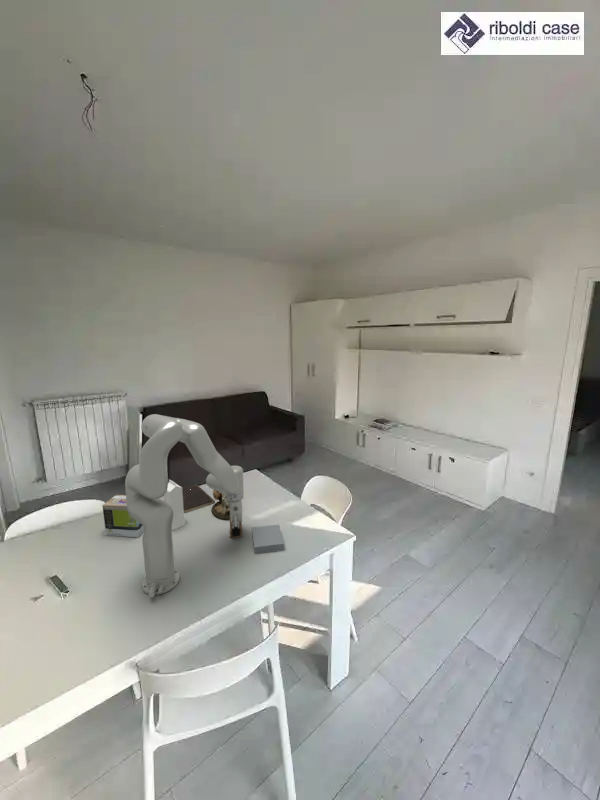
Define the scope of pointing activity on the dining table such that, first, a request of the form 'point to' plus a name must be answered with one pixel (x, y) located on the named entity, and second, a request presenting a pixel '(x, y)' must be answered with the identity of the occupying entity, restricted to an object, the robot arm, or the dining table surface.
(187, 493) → the hardcover book
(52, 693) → the dining table surface
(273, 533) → the slate platform
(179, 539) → the dining table surface
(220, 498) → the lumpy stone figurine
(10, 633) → the dining table surface
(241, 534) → the walnut block
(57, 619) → the dining table surface
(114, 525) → the tea box
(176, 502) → the milk
